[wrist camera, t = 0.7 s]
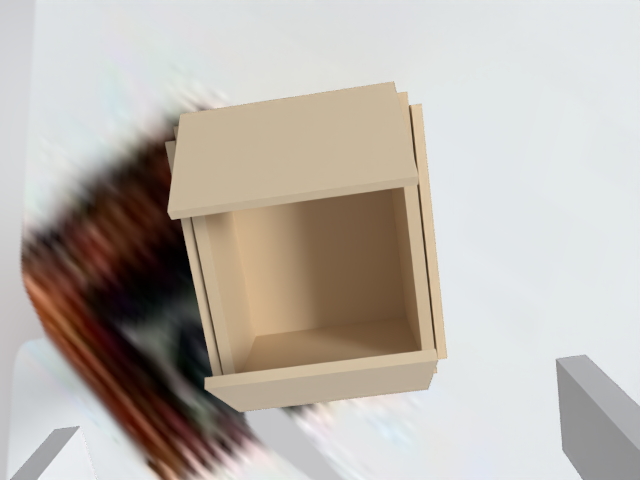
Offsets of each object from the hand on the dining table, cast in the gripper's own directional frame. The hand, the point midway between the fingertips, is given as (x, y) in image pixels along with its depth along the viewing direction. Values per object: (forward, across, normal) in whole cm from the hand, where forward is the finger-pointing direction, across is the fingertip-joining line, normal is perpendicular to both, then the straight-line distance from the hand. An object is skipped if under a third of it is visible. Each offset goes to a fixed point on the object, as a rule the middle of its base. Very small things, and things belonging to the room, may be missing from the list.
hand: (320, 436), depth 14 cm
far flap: (+19, -1, -10) cm, 21 cm away
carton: (+28, -1, 0) cm, 28 cm away
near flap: (+19, -1, +10) cm, 21 cm away
